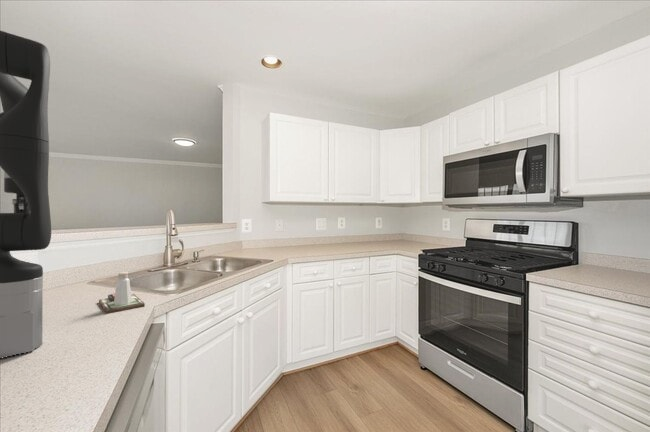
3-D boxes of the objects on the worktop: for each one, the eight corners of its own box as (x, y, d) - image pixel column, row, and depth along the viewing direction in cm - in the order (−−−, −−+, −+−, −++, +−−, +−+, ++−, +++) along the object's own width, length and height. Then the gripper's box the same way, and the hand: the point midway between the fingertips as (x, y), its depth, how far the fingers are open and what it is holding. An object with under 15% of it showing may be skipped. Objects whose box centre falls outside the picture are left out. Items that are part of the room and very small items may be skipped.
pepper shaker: (110, 304, 99) (110, 273, 99) (125, 300, 104) (126, 270, 104) (119, 306, 97) (120, 274, 97) (135, 301, 102) (135, 271, 102)
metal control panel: (144, 306, 101) (144, 299, 101) (106, 313, 93) (106, 306, 93) (133, 296, 112) (133, 290, 112) (99, 302, 105) (99, 295, 105)
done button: (126, 298, 106) (126, 294, 106) (113, 300, 103) (113, 296, 103) (124, 296, 109) (124, 291, 109) (111, 298, 106) (111, 293, 106)
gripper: (39, 177, 85) (39, 234, 85) (39, 181, 95) (39, 232, 95) (1, 174, 80) (1, 235, 80) (6, 179, 89) (5, 233, 89)
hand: (22, 233), depth 87 cm, fingers closed
